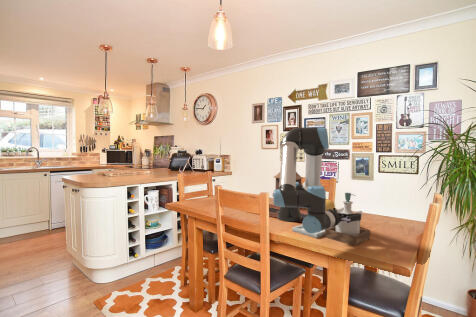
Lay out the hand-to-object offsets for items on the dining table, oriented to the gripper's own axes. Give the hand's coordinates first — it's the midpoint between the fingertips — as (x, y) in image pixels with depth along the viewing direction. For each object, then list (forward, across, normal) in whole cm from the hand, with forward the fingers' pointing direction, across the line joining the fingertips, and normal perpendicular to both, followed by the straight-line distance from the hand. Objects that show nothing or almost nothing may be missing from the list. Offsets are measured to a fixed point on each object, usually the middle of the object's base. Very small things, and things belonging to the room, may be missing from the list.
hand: (351, 211), depth 130 cm
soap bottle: (-5, 0, -13) cm, 14 cm away
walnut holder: (-5, 0, -12) cm, 13 cm away
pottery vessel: (+34, -69, -13) cm, 78 cm away
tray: (-10, -17, -12) cm, 23 cm away
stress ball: (+34, -34, -13) cm, 50 cm away
